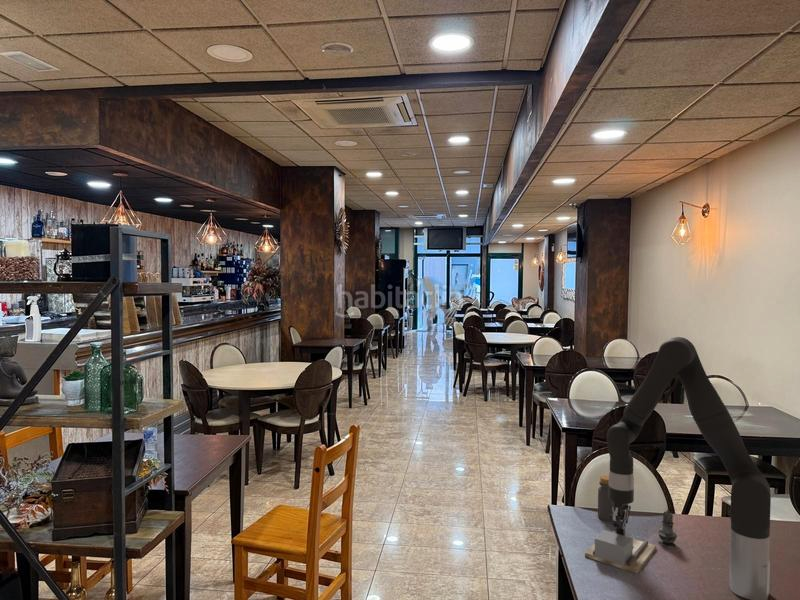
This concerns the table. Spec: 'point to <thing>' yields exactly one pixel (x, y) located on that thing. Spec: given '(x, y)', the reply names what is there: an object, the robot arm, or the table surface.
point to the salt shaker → (667, 531)
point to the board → (636, 562)
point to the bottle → (604, 500)
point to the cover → (613, 547)
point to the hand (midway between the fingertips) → (620, 538)
